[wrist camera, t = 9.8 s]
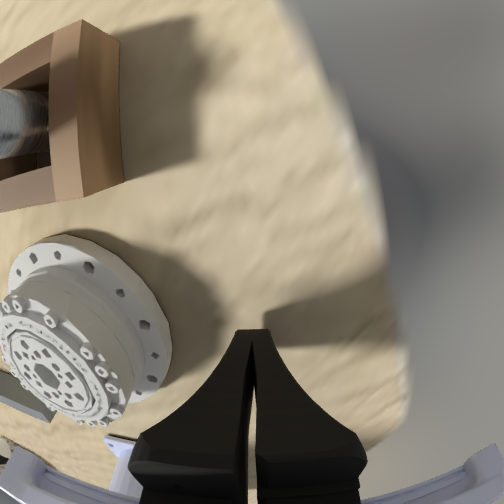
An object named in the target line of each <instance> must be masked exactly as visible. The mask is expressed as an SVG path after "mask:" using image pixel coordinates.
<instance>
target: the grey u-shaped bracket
mask: <svg viewBox="0 0 504 504" xmlns="http://www.w3.org/2000/svg"><path fill="white" fill-rule="evenodd" d="M20 383H21V381H20V380H19V378H18V377H15V376H12V375H10V374H7V373H5V372H2V371H0V401H1V402H3V403H5V404H7V405H9V406H11V407H13V408H15V409H17V410H19V411H21V412H24V413H26V414H28V415H31V416H33V417H35V418H38V419H40V420H43V421H45V422H48V423H51V421H52V419H53V417H54V415H55V414H56V412H57V410H55V411H51V410H50V409H49V408H47V406H46V404H45V403H44V402H42V401H41V400H40V399H39V398H38V397H36V396H35V395H34V394H33V393H32V392H31V391H30V390H26V389H25V388H23V387H22V385H21V384H20Z"/></svg>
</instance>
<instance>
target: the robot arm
mask: <svg viewBox="0 0 504 504" xmlns="http://www.w3.org/2000/svg"><path fill="white" fill-rule="evenodd" d="M254 388H255V398H256V407H257V413H256V446H255V457H256V472H257V500H258V504H491V503H492V502H494V501H495V500H497V499H498V498H500V497H501V496H502V495H504V458H503V457H502V455H501V453H500V451H499V449H498V447H497V445H496V443H493V444H491V445H489V446H488V447H486V448H484V449H482V450H480V451H478V452H477V453H475V454H474V455H473V456H471V457H470V458H469V459H468V460H467V461H466V462H465V463H464V465H462V466H460V467H458V468H456V469H453V470H451V471H449V472H447V473H444V474H442V475H440V476H437V477H435V478H432V479H430V480H427V481H424V482H422V483H419V484H416V485H413V486H410V487H407V488H404V489H401V490H398V491H394V492H391V493H388V494H384V495H380V496H377V497H372V498H368V499H364V500H360V496H359V491H358V489H359V488H360V483H359V479H358V477H359V475H360V474H361V472H362V471H363V469H364V468H365V466H366V464H367V462H368V461H367V456H366V453H365V450H364V448H363V446H362V444H361V442H360V440H359V438H358V436H357V435H356V433H354V432H353V431H351V430H349V429H348V428H346V427H345V426H343V425H342V424H341V423H339V422H338V421H336V420H335V419H334V418H333V417H331V416H330V415H329V414H328V413H326V412H325V411H324V410H323V409H322V408H321V407H320V406H319V405H318V404H317V403H316V402H314V401H313V400H312V399H311V398H310V396H309V395H308V394H307V393H306V392H305V391H304V390H303V389H302V387H301V386H300V385H299V384H298V383H297V381H296V380H295V379H294V377H293V376H292V374H291V373H290V371H289V370H288V369H287V367H286V365H285V364H284V362H283V360H282V358H281V357H280V355H279V353H278V351H277V349H276V347H275V345H274V342H273V340H272V337H271V334H270V331H269V330H268V329H250V330H237V331H236V332H235V335H234V337H233V339H232V341H231V343H230V345H229V347H228V349H227V351H226V353H225V354H224V356H223V358H222V359H221V361H220V362H219V364H218V365H217V367H216V368H215V370H214V371H213V372H212V374H211V375H210V376H209V378H208V379H207V380H206V381H205V383H204V384H203V385H202V386H201V387H200V388H199V389H198V390H197V391H196V392H195V393H194V394H193V395H192V396H191V397H190V398H189V399H188V400H187V401H186V402H185V403H184V404H183V405H182V406H180V407H179V408H178V409H177V410H175V411H174V412H173V413H172V414H170V415H169V416H168V417H166V418H165V419H163V420H162V421H161V422H159V423H157V424H156V425H154V426H152V427H151V428H149V429H147V430H146V431H144V432H142V433H141V434H140V436H139V437H138V439H137V441H136V442H135V441H130V440H125V439H120V438H116V437H112V436H107V435H105V436H104V438H103V440H104V442H105V443H106V444H107V446H108V447H109V448H110V450H111V451H112V452H113V453H114V455H115V456H116V457H117V458H118V461H117V464H116V467H115V470H114V473H113V476H112V479H111V482H110V485H109V488H108V490H107V489H104V488H101V487H98V486H95V485H92V484H89V483H86V482H84V481H81V480H78V479H76V478H73V477H71V476H68V475H66V474H64V473H61V472H59V471H57V470H54V469H52V468H50V467H48V466H46V464H45V463H44V462H43V461H42V460H41V459H40V458H39V457H37V456H36V455H34V454H32V453H31V452H29V451H27V450H25V449H23V448H21V447H19V446H16V447H15V449H14V451H13V452H12V454H11V456H10V458H9V460H8V462H7V464H6V466H5V468H4V470H3V472H2V474H1V476H0V488H1V489H2V490H3V491H4V492H6V493H7V494H8V495H10V496H11V497H12V498H14V499H15V500H17V501H18V502H20V503H21V504H248V435H249V424H250V416H251V407H252V399H253V391H254Z"/></svg>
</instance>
